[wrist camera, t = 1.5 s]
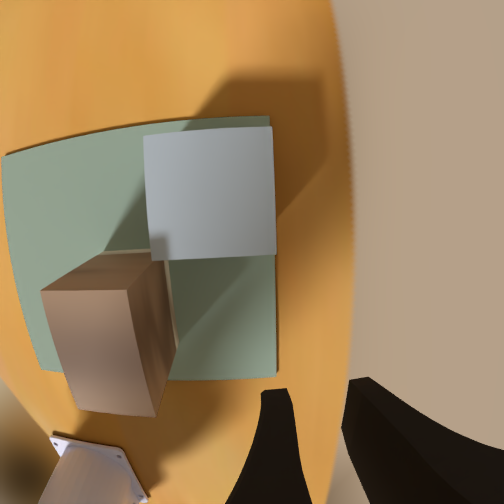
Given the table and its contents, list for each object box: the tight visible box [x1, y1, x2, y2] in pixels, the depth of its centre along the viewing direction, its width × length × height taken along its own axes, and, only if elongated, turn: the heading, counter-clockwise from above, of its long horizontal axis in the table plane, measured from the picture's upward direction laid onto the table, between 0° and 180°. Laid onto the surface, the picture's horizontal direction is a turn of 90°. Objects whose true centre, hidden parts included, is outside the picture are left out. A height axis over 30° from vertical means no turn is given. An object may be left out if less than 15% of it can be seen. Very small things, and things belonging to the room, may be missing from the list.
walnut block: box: [40, 249, 179, 417], centre depth 14 cm, size 6×4×7 cm, turn 2°
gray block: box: [143, 127, 277, 261], centre depth 14 cm, size 5×5×5 cm
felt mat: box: [2, 116, 276, 380], centre depth 17 cm, size 16×18×1 cm
